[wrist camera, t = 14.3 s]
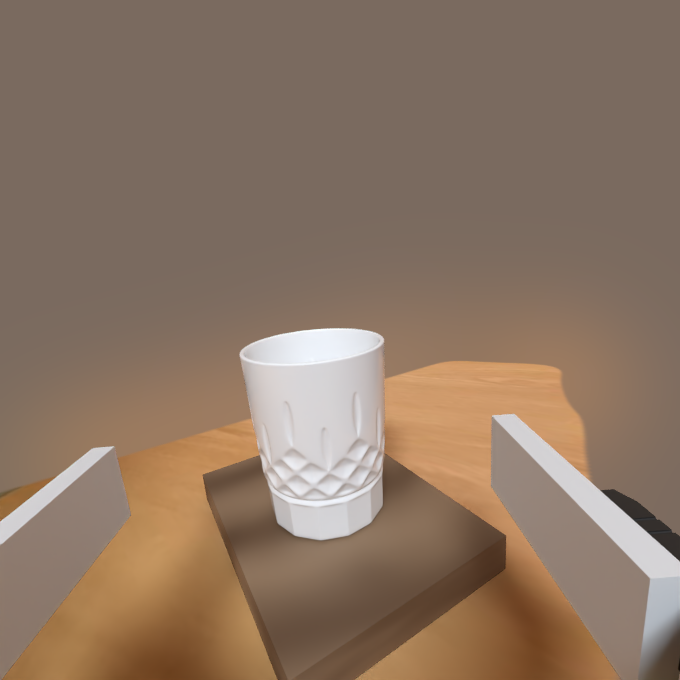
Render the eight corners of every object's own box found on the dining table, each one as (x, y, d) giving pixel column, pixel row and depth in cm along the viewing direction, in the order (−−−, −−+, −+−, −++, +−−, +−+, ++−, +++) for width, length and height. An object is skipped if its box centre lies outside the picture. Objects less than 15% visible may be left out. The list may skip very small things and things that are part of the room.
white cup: (254, 484, 25) (232, 341, 23) (361, 454, 28) (350, 323, 26) (278, 572, 18) (249, 375, 16) (419, 520, 20) (412, 345, 18)
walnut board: (207, 499, 27) (202, 474, 27) (346, 446, 33) (344, 426, 33) (294, 723, 14) (288, 681, 13) (505, 568, 19) (506, 535, 19)
